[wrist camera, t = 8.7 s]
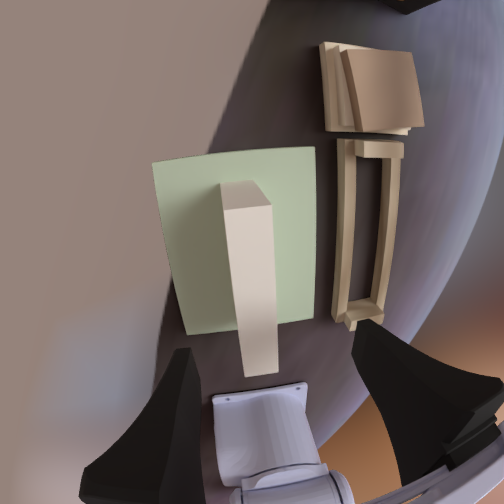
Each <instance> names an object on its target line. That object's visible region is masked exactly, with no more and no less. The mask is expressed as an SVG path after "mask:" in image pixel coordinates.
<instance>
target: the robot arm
mask: <svg viewBox="0 0 504 504" xmlns="http://www.w3.org/2000/svg"><path fill="white" fill-rule="evenodd" d="M351 354H352V357H353V360H354V362H355V365H356V367H357V370H358V372H359V374H360V376H361V378H362V380H363V382H364V383H365V385H366V387H367V389H368V391H369V392H370V394H371V396H372V398H373V400H374V401H375V403H376V405H377V407H378V409H379V411H380V413H381V415H382V418H383V420H384V423H385V426H386V428H387V431H388V434H389V437H390V440H391V443H392V446H393V449H394V453H395V456H396V460H397V464H398V469H399V473H400V478H401V484H402V487H401V488H399V489H398V490H395V491H393V492H390V493H388V494H385V495H383V496H381V497H378V498H376V499H373V500H370V501H368V502H365V503H362V504H402V503H404V502H406V501H408V500H410V499H412V498H414V497H416V496H418V495H420V494H422V493H423V494H422V495H421V496H420V497H419V498H417V499H415V500H413V501H411V502H410V503H408V504H475V503H477V502H478V501H479V500H480V499H481V498H483V497H484V496H485V495H486V494H487V493H489V492H490V491H491V490H492V489H493V488H494V487H495V486H497V485H498V484H499V483H500V482H501V481H502V480H503V479H504V421H503V422H501V423H500V424H499V425H498V426H497V425H496V424H495V422H496V421H497V418H496V416H495V415H494V414H495V413H496V411H497V410H498V409H499V407H500V406H501V405H502V404H503V402H504V383H503V382H502V381H501V379H500V378H496V377H490V376H484V375H479V374H475V373H470V372H467V371H464V370H461V369H458V368H455V367H452V366H449V365H447V364H444V363H442V362H440V361H438V360H436V359H433V358H431V357H429V356H428V355H426V354H424V353H422V352H420V351H419V350H417V349H415V348H413V347H412V346H410V345H408V344H407V343H405V342H404V341H402V340H401V339H399V338H398V337H396V336H395V335H393V334H392V333H390V332H389V331H387V330H386V329H385V328H383V327H382V326H380V325H379V324H377V323H376V322H374V321H373V320H371V319H370V318H368V319H364V320H359V321H357V325H356V331H355V337H354V342H353V348H352V353H351ZM307 387H308V386H307V383H306V382H301V383H296V384H291V385H285V386H279V387H274V388H267V389H261V390H254V391H247V392H239V393H231V394H222V395H214V396H213V397H212V402H213V408H214V432H215V440H216V453H217V461H218V467H219V472H220V476H221V479H222V482H223V484H224V486H241V487H242V488H236V489H235V490H234V492H233V493H232V494H231V495H230V502H229V503H230V504H355V503H354V498H353V494H352V491H351V488H350V486H349V484H348V482H347V480H346V478H345V477H344V476H343V474H341V473H339V472H337V471H336V470H330V471H328V468H327V465H326V463H323V464H321V462H320V458H319V455H318V452H317V449H316V446H315V442H314V439H313V436H312V433H311V430H310V427H309V424H308V421H307V417H306V414H305V406H306V397H307ZM201 401H202V399H201V384H200V377H199V374H198V371H197V367H196V364H195V361H194V357H193V354H192V350H191V348H180V349H176V350H175V351H174V353H173V356H172V358H171V360H170V363H169V365H168V367H167V369H166V371H165V373H164V375H163V377H162V379H161V380H160V382H159V384H158V386H157V388H156V390H155V391H154V393H153V395H152V396H151V398H150V400H149V401H148V403H147V404H146V406H145V407H144V409H143V410H142V412H141V413H140V414H139V416H138V417H137V418H136V420H135V421H134V422H133V424H132V425H131V426H130V427H129V428H128V429H127V431H126V432H125V433H124V434H123V435H122V436H121V437H120V438H119V440H117V441H116V442H115V443H114V444H113V445H112V446H111V447H110V448H109V449H108V450H107V451H106V452H105V453H104V454H102V455H101V456H100V457H99V458H97V459H96V460H95V461H94V462H92V463H91V464H90V465H88V466H87V467H85V468H84V472H83V475H82V479H81V484H80V491H79V498H80V499H81V501H83V502H84V503H86V504H206V501H205V494H204V487H203V479H202V470H201V460H200V423H201Z"/></svg>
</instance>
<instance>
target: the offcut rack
mask: <svg viewBox="0 0 504 504" xmlns="http://www.w3.org/2000/svg"><path fill="white" fill-rule="evenodd" d="M319 50H320V60H321V71H322V82H323V96H324V111H325V131H336V132H370V133H387V134H401V135H408V130H411V127H422V126H424V119H423V111H422V104H421V98H420V92H419V86H418V81H417V76H416V71H415V66H414V62H413V57H412V53H411V52H401V51H389V50H377V49H372V48H366V47H361V46H354V45H347V44H340V43H331V42H323V43H322V44H320V45H319ZM403 153H404V143H401V142H400V141H394V140H380V139H348V138H337V162H338V199H337V236H336V256H335V273H334V286H333V298H332V309H331V315H332V317H333V319H334V321H335V322H336V323H339V322H344V323H345V324H346V326H347V327H348V329H349V331H353V330H356V325H357V321H359V320H364V319H368V318H370V319H371V320H373V321H374V322H376V323H377V324H382V323H383V318H384V313H383V307H384V302H385V297H386V291H387V286H388V280H389V274H390V268H391V262H392V255H393V247H394V240H395V231H396V222H397V211H398V199H399V183H400V158H403ZM356 156H360V157H364V158H382V186H381V205H380V219H379V230H378V241H377V250H376V259H375V267H374V274H373V281H372V288H371V294H370V298H365V299H360V300H355V301H350V302H348V294H349V285H350V275H351V264H352V253H353V239H354V222H355V199H356Z"/></svg>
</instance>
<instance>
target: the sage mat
mask: <svg viewBox="0 0 504 504" xmlns="http://www.w3.org/2000/svg"><path fill="white" fill-rule="evenodd" d="M152 170H153V177H154V184H155V190H156V196H157V202H158V207H159V213H160V219H161V224H162V230H163V235H164V240H165V245H166V250H167V255H168V259H169V263H170V268H171V273H172V277H173V282H174V286H175V290H176V294H177V298H178V302H179V307H180V310H181V314H182V318H183V322H184V326H185V330H186V333H187V335H194V334H204V333H213V332H222V331H230V330H238V327H237V320H236V313H235V305H234V298H233V290H232V282H231V274H230V266H229V258H228V250H227V241H226V233H225V224H224V215H223V206H222V197H221V188H220V183H223V182H233V181H242V180H252V179H253V180H254V182H255V183H256V184H257V186H258V187H259V188H260V190H261V191H262V192H263V194H264V195H265V196H266V198H267V199H268V200H269V202H270V203H271V204H272V214H273V233H274V254H275V278H276V304H277V324H280V323H286V322H292V321H298V320H304V319H310V318H313V311H314V290H315V260H316V169H315V147H313V146H302V147H281V148H265V149H252V150H241V151H231V152H221V153H212V154H204V155H196V156H189V157H182V158H176V159H169V160H163V161H157V162H153V163H152Z"/></svg>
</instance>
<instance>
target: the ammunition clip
mask: <svg viewBox="0 0 504 504" xmlns="http://www.w3.org/2000/svg"><path fill="white" fill-rule="evenodd" d="M378 1H381V2H383V3H385V4H387V5H388V6H390V7H392V8H394V9H396V10H398V11H400V12H401V13H403V14H405V15H408V14H410V13H412V12H414V11H417V10H419V9H421V8H423V7H426V6H428V5H430V4H433V3H435V2H438V1H440V0H378Z"/></svg>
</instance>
